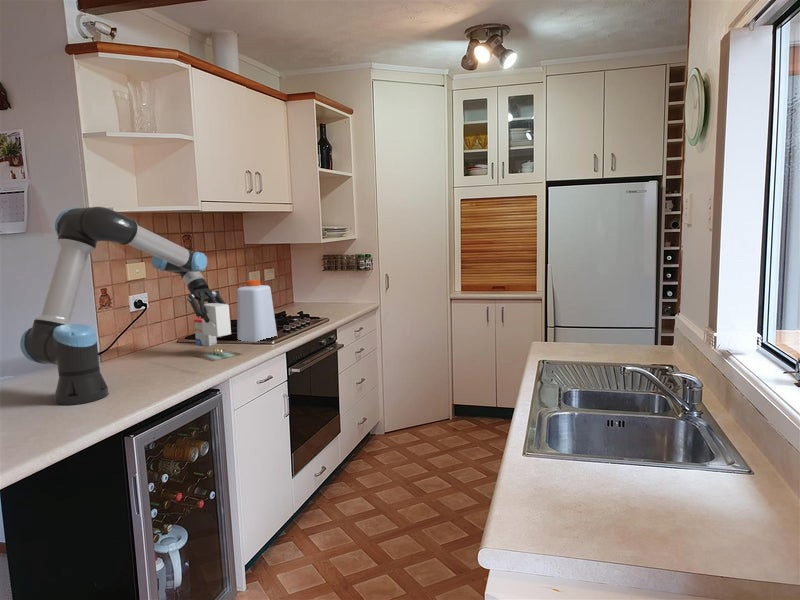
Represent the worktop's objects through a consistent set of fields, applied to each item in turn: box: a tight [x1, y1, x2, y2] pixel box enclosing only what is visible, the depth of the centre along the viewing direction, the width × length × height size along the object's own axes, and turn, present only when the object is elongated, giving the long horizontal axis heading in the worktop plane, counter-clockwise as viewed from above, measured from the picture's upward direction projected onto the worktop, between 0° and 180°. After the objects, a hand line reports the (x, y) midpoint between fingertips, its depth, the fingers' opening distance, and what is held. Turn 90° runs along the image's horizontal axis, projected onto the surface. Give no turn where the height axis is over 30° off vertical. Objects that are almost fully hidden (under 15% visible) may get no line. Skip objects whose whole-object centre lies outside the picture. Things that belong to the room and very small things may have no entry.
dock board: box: [192, 348, 244, 362], centre depth 239 cm, size 14×16×1 cm
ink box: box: [193, 317, 218, 347], centre depth 266 cm, size 8×5×15 cm, turn 62°
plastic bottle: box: [236, 279, 278, 342], centre depth 267 cm, size 15×15×28 cm
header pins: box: [212, 347, 223, 356], centre depth 238 cm, size 1×6×2 cm, turn 49°
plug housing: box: [202, 302, 232, 338], centre depth 237 cm, size 6×11×12 cm, turn 49°
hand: (221, 326), depth 235 cm, fingers closed on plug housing, 6 cm apart
